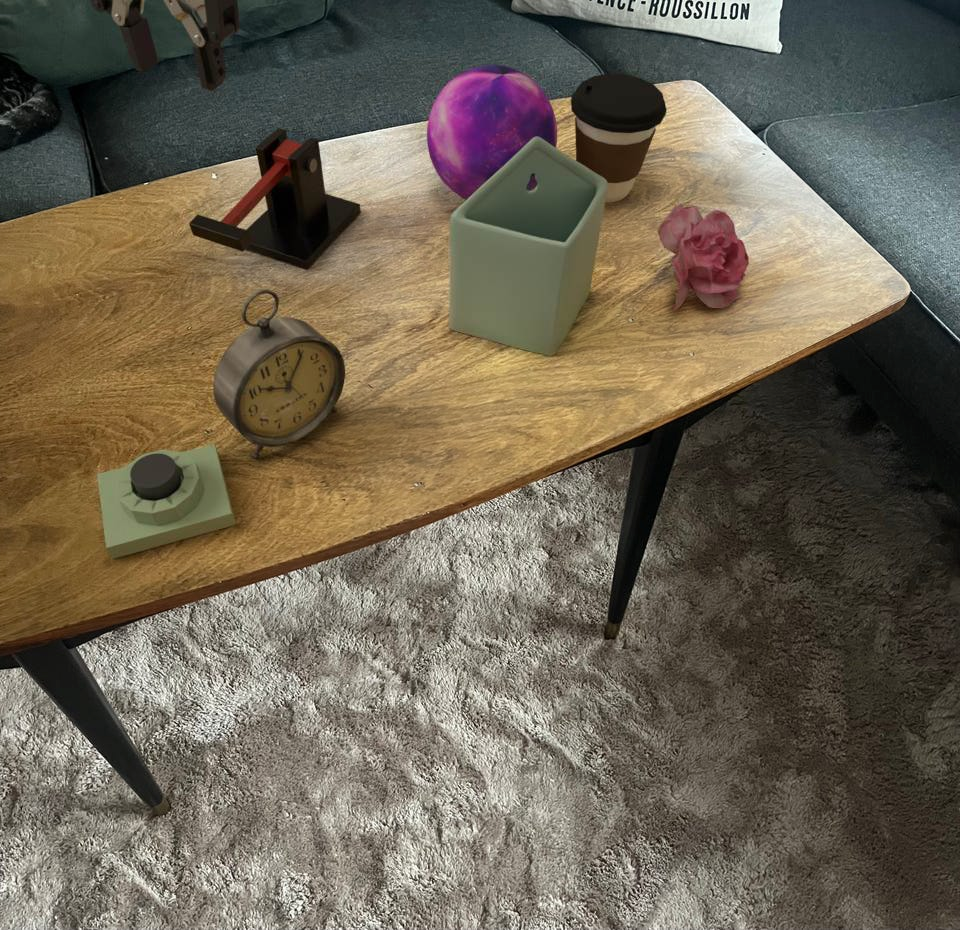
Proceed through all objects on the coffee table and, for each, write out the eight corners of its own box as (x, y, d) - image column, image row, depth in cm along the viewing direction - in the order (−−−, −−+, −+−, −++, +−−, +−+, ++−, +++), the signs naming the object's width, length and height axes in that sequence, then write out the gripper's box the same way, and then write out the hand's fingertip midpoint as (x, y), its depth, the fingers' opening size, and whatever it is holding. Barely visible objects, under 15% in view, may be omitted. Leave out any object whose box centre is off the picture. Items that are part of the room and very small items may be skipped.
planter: (477, 377, 82) (485, 203, 66) (448, 326, 86) (448, 152, 71) (622, 336, 86) (661, 164, 71) (587, 290, 91) (616, 118, 75)
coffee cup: (553, 206, 100) (564, 111, 91) (567, 158, 107) (579, 65, 98) (643, 220, 99) (664, 125, 90) (652, 171, 106) (672, 78, 96)
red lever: (244, 255, 82) (238, 236, 80) (194, 239, 83) (187, 219, 81) (322, 167, 90) (318, 148, 88) (275, 154, 91) (270, 134, 89)
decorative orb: (526, 243, 95) (537, 120, 84) (407, 212, 99) (402, 88, 87) (566, 176, 104) (581, 56, 93) (456, 149, 107) (457, 30, 96)
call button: (139, 505, 67) (132, 492, 66) (133, 472, 69) (127, 459, 68) (184, 493, 68) (179, 480, 67) (177, 461, 70) (172, 448, 69)
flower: (741, 311, 94) (780, 288, 84) (657, 327, 93) (686, 305, 83) (720, 214, 95) (756, 179, 85) (636, 229, 94) (663, 195, 84)
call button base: (112, 559, 68) (98, 535, 65) (103, 485, 72) (89, 460, 69) (236, 524, 70) (227, 500, 67) (219, 455, 75) (210, 430, 72)
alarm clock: (253, 476, 73) (212, 340, 61) (222, 440, 76) (176, 302, 63) (354, 417, 78) (336, 280, 65) (321, 385, 80) (298, 247, 68)
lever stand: (307, 270, 91) (292, 183, 83) (238, 247, 93) (217, 160, 85) (360, 212, 98) (352, 126, 90) (295, 192, 100) (281, 107, 92)
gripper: (-4, -168, 56) (81, 76, 69) (171, -132, 53) (225, 118, 66) (73, -195, 61) (140, 40, 74) (239, -163, 57) (278, 77, 70)
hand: (180, 76), depth 70 cm, fingers open, 6 cm apart
